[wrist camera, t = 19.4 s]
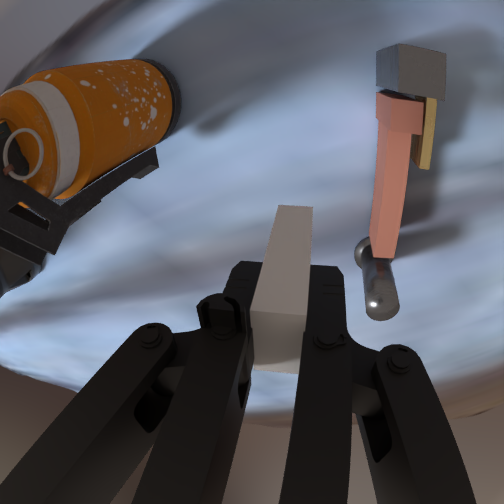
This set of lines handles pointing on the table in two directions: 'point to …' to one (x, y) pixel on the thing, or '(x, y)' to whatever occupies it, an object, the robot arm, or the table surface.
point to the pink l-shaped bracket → (392, 167)
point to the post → (377, 283)
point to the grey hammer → (415, 88)
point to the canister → (77, 144)
